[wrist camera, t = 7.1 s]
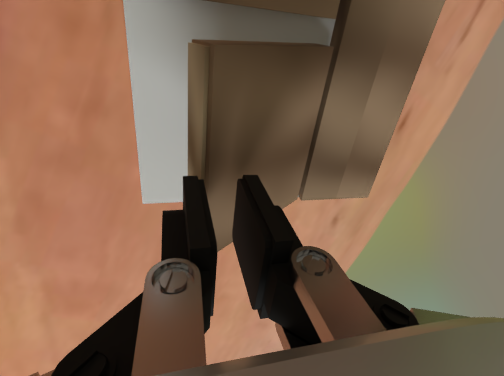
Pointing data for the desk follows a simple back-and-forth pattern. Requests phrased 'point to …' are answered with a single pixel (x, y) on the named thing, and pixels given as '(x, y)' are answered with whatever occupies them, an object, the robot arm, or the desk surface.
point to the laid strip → (365, 92)
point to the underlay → (176, 73)
